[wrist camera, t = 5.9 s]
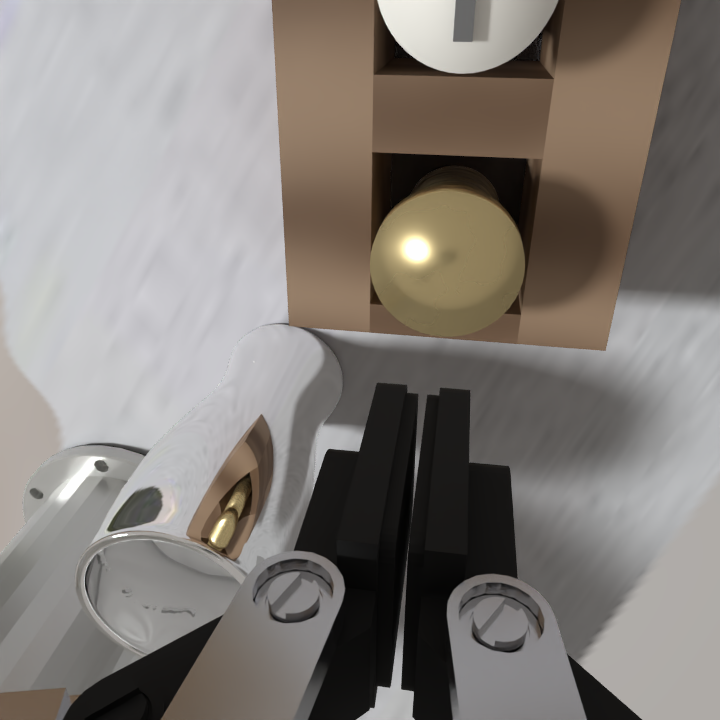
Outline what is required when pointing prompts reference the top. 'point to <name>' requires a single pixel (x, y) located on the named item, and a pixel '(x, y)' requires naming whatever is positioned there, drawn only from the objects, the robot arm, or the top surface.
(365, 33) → the block
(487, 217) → the brass knob
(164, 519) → the beer glass
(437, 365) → the top surface
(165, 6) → the top surface
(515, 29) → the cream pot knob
